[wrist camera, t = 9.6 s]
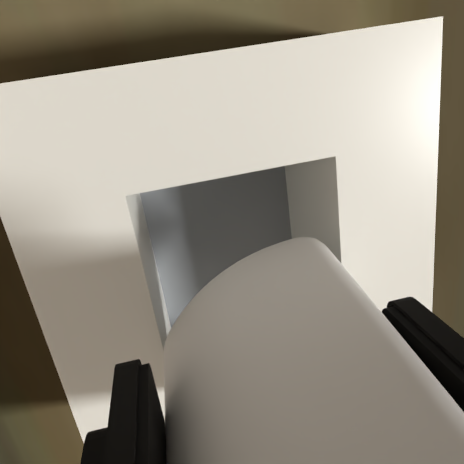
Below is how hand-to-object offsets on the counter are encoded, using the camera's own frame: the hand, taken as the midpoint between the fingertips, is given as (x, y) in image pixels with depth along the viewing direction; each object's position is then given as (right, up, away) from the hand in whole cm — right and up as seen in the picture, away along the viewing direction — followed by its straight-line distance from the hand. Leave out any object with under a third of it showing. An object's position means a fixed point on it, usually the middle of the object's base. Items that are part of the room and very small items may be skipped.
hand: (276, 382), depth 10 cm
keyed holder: (-2, +3, +8) cm, 9 cm away
